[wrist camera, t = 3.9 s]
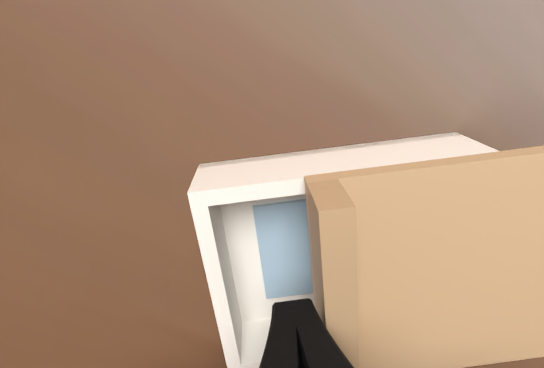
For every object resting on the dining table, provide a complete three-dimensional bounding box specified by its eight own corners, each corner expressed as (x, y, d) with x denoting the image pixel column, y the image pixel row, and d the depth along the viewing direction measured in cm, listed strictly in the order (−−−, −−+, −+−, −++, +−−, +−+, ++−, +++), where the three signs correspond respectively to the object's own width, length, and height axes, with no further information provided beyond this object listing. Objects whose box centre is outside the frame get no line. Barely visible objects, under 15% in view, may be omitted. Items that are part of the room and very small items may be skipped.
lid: (638, 133, 11) (741, 157, 9) (574, 339, 15) (635, 395, 13) (303, 175, 11) (318, 211, 9) (319, 373, 15) (333, 436, 13)
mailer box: (455, 132, 14) (503, 152, 12) (438, 297, 18) (473, 343, 15) (199, 164, 14) (187, 193, 12) (232, 324, 18) (229, 376, 15)
